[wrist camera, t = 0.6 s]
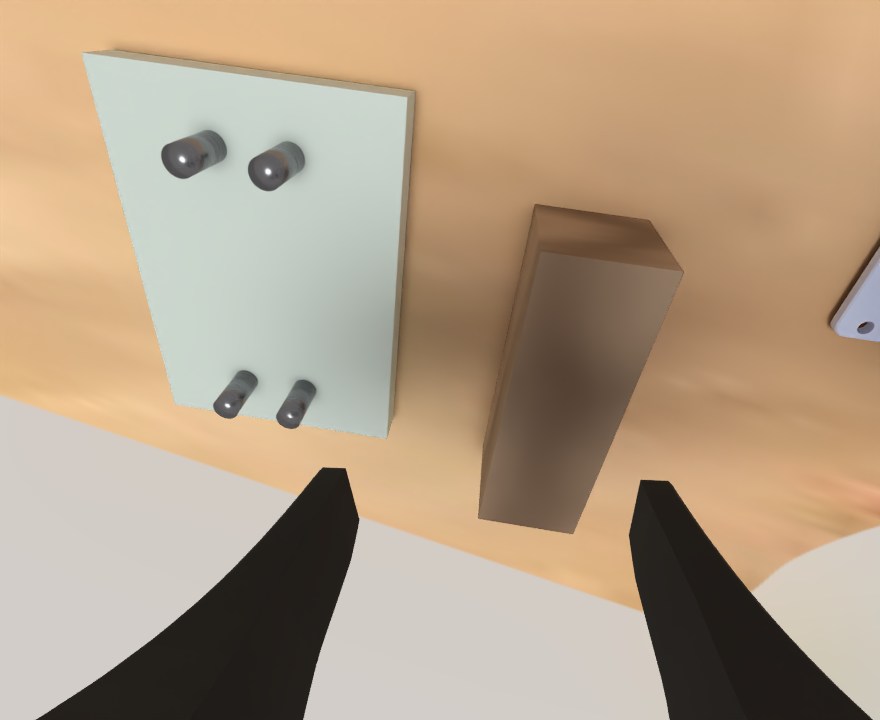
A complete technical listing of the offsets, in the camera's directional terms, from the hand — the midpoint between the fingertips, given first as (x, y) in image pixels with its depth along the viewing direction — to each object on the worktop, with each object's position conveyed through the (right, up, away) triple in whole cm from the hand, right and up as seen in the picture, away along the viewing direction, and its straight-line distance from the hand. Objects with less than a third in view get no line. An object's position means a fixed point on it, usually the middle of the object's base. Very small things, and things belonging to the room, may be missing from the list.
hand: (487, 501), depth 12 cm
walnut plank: (+3, +4, +9) cm, 10 cm away
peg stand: (-8, +7, +8) cm, 13 cm away
